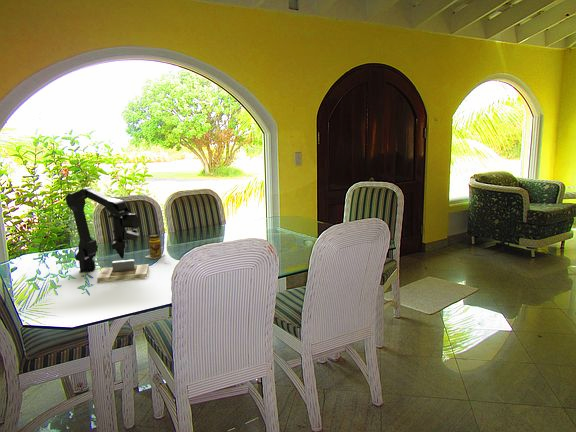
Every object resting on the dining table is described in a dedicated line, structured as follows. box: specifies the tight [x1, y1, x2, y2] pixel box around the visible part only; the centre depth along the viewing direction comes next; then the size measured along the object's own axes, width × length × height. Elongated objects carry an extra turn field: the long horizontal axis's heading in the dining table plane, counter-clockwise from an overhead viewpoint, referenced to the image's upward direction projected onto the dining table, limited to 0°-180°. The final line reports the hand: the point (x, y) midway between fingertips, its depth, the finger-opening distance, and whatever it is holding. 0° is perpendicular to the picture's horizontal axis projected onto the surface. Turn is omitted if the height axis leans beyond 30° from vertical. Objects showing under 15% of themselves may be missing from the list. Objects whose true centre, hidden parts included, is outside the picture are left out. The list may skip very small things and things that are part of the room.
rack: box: [96, 263, 150, 283], centre depth 223 cm, size 22×15×2 cm
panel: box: [111, 259, 136, 272], centre depth 223 cm, size 10×2×7 cm, turn 103°
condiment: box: [144, 233, 165, 260], centre depth 251 cm, size 7×8×12 cm
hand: (122, 258), depth 222 cm, fingers closed
